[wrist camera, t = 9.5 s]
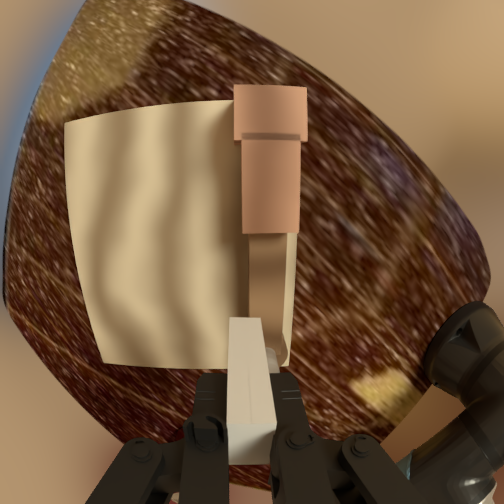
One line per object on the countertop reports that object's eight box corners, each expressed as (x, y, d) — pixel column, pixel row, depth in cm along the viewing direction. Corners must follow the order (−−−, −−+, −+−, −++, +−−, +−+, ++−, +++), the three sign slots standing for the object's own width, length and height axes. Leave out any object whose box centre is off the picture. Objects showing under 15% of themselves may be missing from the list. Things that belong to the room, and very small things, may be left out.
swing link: (282, 355, 29) (290, 388, 24) (241, 357, 29) (243, 391, 24) (291, 168, 23) (306, 169, 18) (239, 167, 23) (240, 168, 18)
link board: (294, 105, 23) (313, 88, 17) (286, 357, 31) (296, 396, 25) (72, 124, 22) (35, 118, 16) (107, 355, 30) (89, 389, 24)
